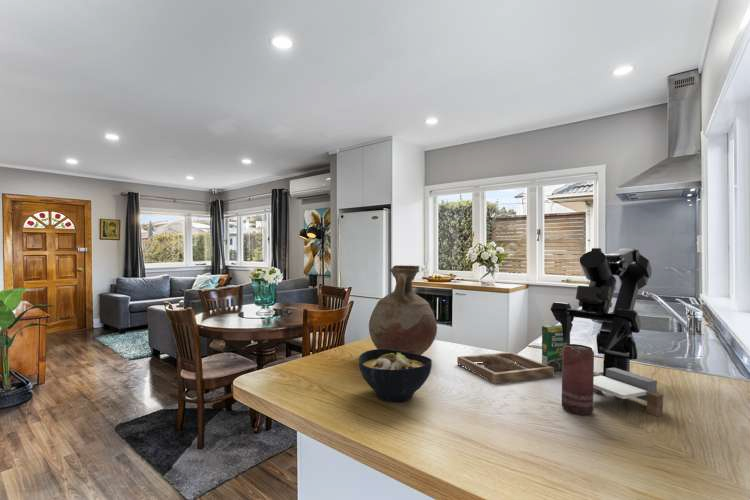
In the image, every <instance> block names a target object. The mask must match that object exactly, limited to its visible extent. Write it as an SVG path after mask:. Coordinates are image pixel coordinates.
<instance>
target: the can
mask: <svg viewBox="0 0 750 500" xmlns="http://www.w3.org/2000/svg"><path fill="white" fill-rule="evenodd" d="M594 363H595V352H594V350H593V348H592V347H591V346H587V345H584V344H577V343H570V344H566V345H564V347H563V350H562V370H561V407H562V408H563V410H564V411H566V412H568V413H570V414H573V415H578V416H589V415H591V414H592V413H593V412H594V392H593V381H594V372H595V365H594Z"/></svg>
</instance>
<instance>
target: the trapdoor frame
mask: <svg viewBox="0 0 750 500" xmlns="http://www.w3.org/2000/svg"><path fill="white" fill-rule="evenodd" d="M599 373H600V372H597V371H594V377H595V376H600V375H602V374H599ZM593 393H595V394H598V393H603V391H600V390H598V389H595V388H593ZM646 413H647V414H650V415H652V416H655V417H660V416H663V414H664V394H662V393H659V392H657V393H656V392H647V401H646Z"/></svg>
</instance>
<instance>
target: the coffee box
mask: <svg viewBox="0 0 750 500" xmlns="http://www.w3.org/2000/svg"><path fill="white" fill-rule="evenodd" d="M566 344H571V334H570V335H569V338H568V340H567V342H566V343H564V341H563V332H562V324H558V325H542V327H541V363H543V364H545V365H548V366H551V367H554V371H562V350H563V347H564V345H566Z"/></svg>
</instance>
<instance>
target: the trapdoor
mask: <svg viewBox="0 0 750 500" xmlns="http://www.w3.org/2000/svg"><path fill="white" fill-rule="evenodd" d="M657 384H658V380H657V379H653V378H651V377H650V378H649V377H646V376H643V375H640V374H638V373H633V372H627V371H624V370H621V369H617V368H607V369H606V377H605V376H602V375H600V376H595V377H594V381H593V388H595V389H598V390H600V391H602V393H603V392H604V393H606V394H609V395H612V396H614V397H617V398H620V399H622V400H625V399H631V398H632V399H633V398H637V399H640V400H643V401H644V402H647V392H656V393H658V391H657V389H658V388H657V386H658V385H657Z"/></svg>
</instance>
